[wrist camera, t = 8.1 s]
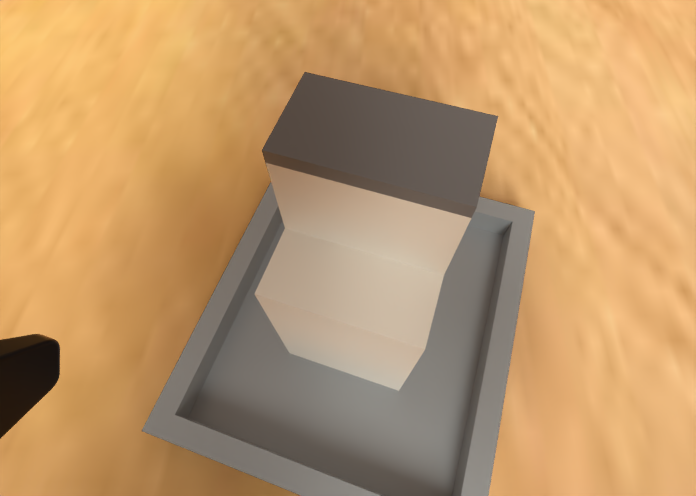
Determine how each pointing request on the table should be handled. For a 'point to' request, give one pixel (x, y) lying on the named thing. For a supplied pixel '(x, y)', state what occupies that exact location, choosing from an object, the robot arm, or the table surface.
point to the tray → (354, 379)
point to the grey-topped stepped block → (367, 221)
